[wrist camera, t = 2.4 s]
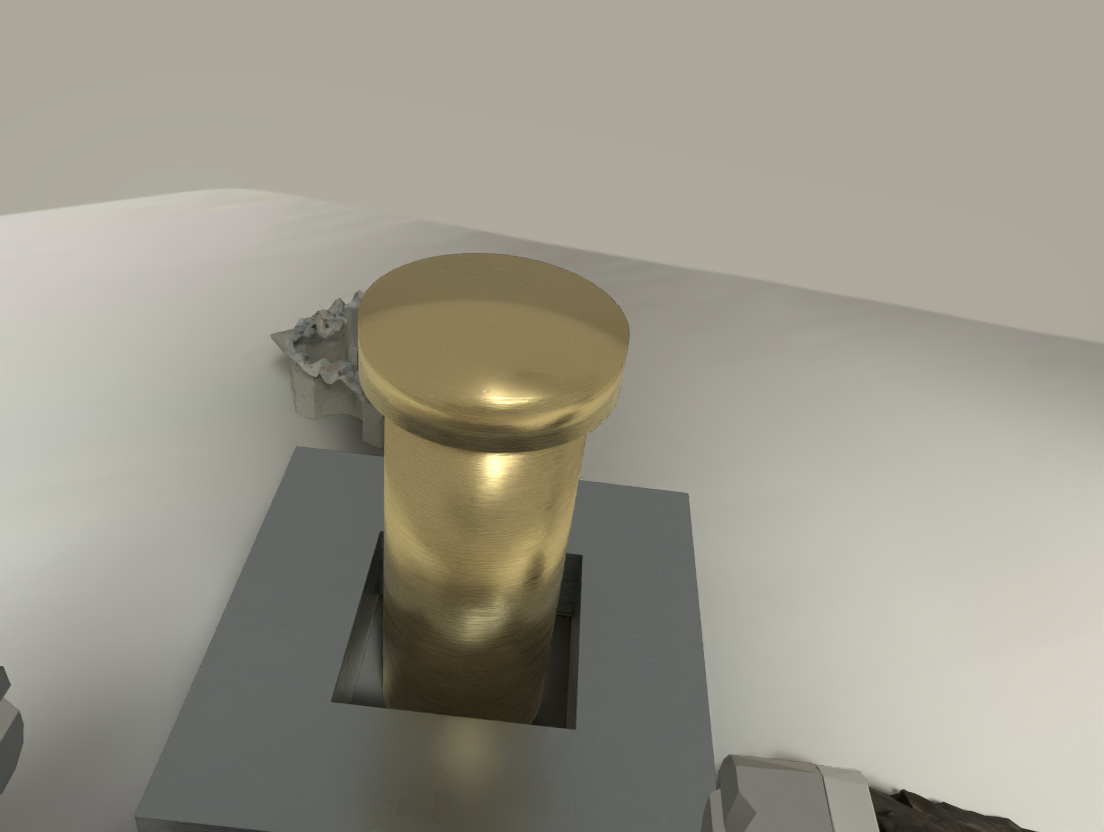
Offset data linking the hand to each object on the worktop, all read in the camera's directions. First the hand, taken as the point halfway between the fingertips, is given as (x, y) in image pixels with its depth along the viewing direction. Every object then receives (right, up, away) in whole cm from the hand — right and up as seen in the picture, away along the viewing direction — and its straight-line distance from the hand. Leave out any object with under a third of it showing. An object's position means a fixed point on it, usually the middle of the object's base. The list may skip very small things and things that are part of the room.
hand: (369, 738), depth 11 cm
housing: (-1, -5, +19) cm, 19 cm away
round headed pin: (-1, -5, +19) cm, 19 cm away
